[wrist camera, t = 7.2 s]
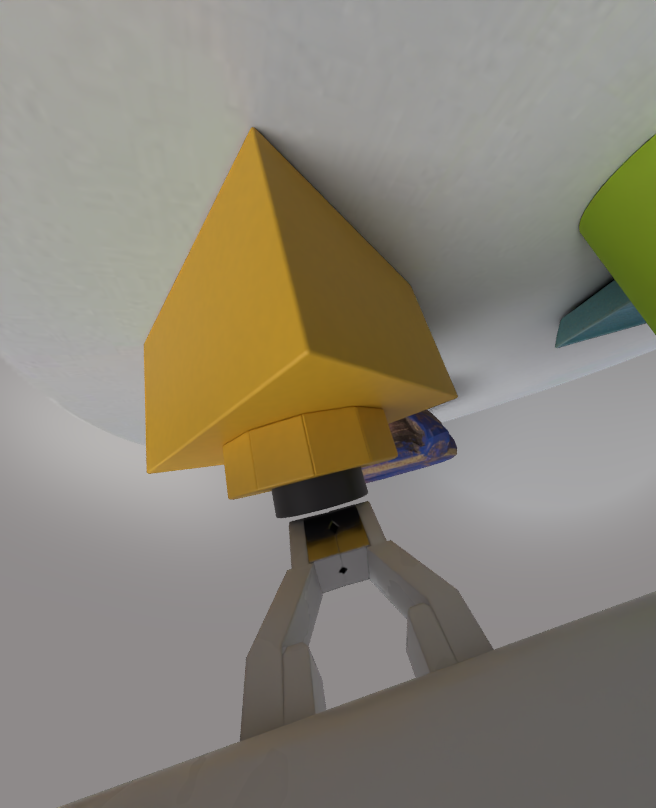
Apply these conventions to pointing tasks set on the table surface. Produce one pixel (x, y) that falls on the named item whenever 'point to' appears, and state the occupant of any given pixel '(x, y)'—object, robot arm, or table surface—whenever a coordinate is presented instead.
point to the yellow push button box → (283, 340)
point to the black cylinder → (319, 493)
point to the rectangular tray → (599, 316)
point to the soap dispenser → (628, 229)
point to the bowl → (414, 446)
